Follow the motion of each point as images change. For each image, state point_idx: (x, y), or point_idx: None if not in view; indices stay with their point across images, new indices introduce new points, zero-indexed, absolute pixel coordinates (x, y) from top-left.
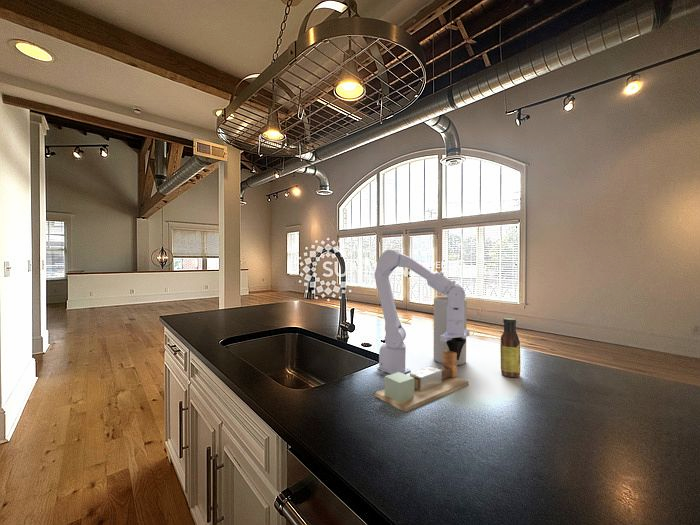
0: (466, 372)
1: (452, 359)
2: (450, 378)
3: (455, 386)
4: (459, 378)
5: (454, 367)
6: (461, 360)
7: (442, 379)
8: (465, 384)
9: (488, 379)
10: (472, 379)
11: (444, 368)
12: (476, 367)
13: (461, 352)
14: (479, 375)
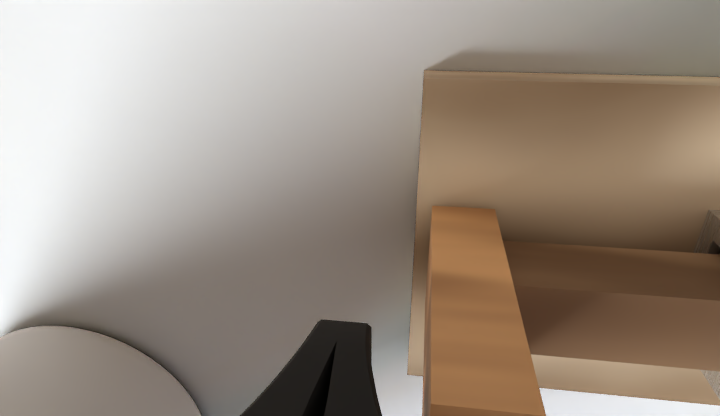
0: (174, 231)
1: (526, 348)
2: None
3: (679, 87)
4: (428, 173)
5: (478, 264)
6: (63, 351)
7: None
8: (478, 75)
9: (127, 15)
10: (266, 117)
11: (572, 323)
12: (5, 232)
13: (9, 410)
14: (125, 126)
